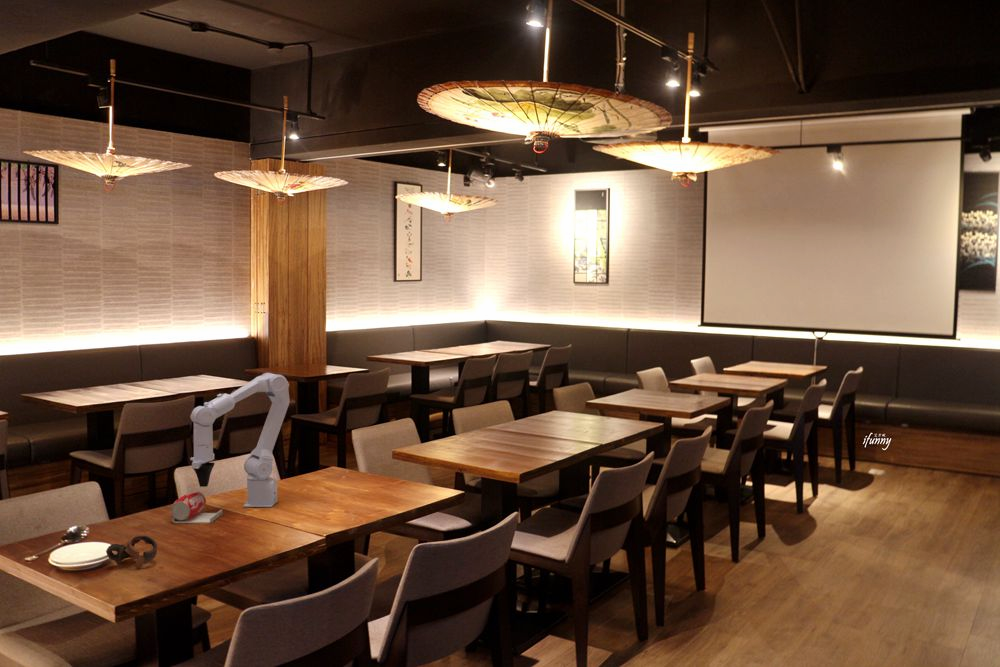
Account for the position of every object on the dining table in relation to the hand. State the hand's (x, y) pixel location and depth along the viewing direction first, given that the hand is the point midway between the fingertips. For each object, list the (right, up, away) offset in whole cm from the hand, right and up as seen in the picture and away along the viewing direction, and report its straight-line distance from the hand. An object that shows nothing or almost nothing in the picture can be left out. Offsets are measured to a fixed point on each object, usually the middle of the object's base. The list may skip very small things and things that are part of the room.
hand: (203, 486), depth 257 cm
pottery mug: (-1, -12, -47) cm, 49 cm away
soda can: (-3, -5, +2) cm, 6 cm away
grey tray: (0, -9, -5) cm, 10 cm away
